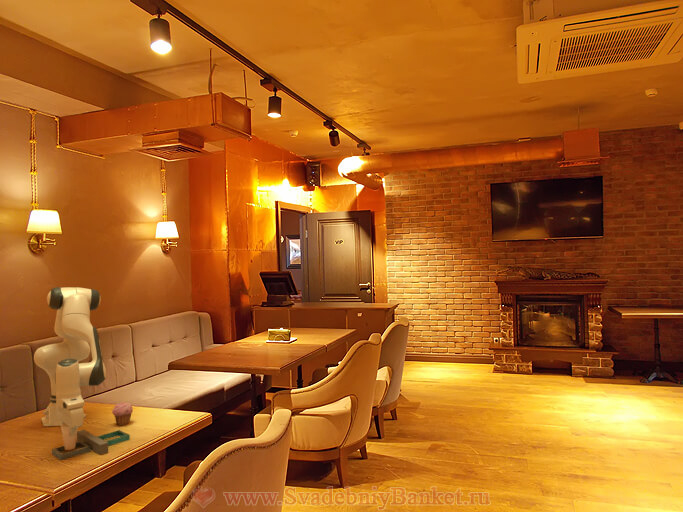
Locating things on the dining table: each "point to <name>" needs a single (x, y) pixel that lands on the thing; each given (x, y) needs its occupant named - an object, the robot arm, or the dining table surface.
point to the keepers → (86, 448)
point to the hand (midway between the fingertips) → (69, 433)
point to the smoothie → (68, 437)
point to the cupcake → (122, 413)
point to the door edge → (93, 442)
